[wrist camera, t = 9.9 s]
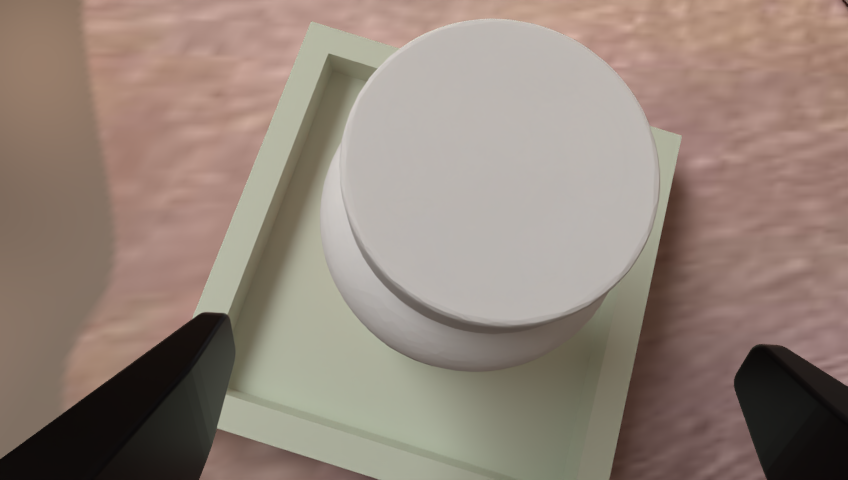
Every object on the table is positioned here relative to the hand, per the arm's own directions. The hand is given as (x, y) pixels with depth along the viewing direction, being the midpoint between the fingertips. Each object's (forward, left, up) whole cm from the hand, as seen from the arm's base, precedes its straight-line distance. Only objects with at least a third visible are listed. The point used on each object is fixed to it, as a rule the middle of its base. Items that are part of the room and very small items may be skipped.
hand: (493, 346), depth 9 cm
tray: (+3, +1, -10) cm, 10 cm away
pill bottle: (+2, +1, -9) cm, 9 cm away
